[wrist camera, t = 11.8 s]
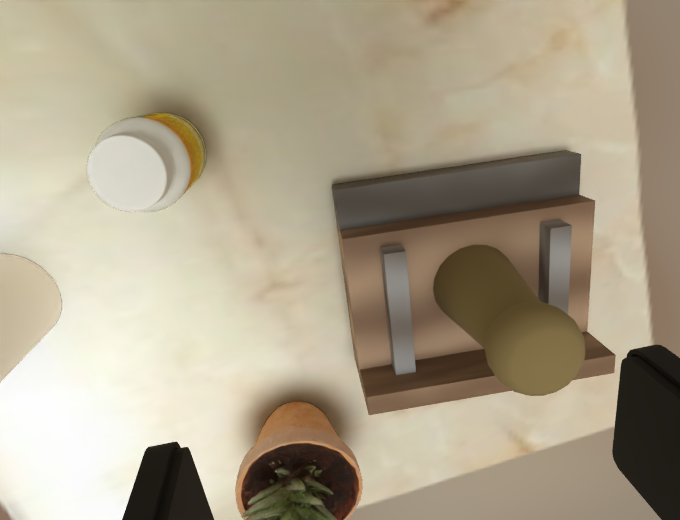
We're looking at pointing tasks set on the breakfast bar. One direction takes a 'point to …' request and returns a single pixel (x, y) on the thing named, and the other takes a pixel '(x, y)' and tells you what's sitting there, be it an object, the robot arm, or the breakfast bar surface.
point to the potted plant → (298, 469)
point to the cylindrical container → (24, 308)
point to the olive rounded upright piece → (509, 321)
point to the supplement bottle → (146, 162)
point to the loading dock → (435, 246)
